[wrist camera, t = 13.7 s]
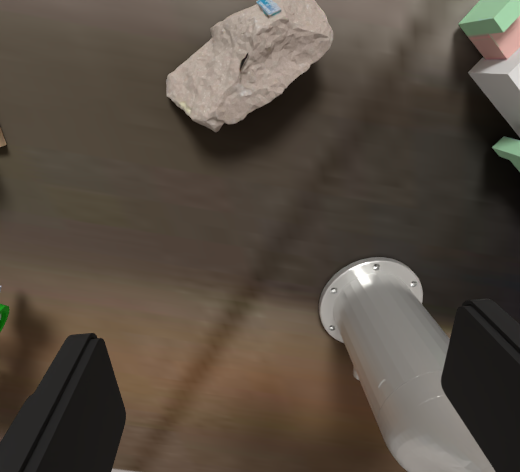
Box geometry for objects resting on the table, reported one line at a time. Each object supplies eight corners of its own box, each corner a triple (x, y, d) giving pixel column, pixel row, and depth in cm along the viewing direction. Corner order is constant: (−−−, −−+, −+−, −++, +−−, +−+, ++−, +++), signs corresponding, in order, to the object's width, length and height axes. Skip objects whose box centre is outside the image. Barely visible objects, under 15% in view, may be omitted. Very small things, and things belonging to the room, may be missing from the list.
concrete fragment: (154, 70, 32) (138, 72, 26) (290, -30, 29) (304, -52, 24) (202, 139, 35) (197, 153, 29) (329, 51, 32) (350, 49, 27)
